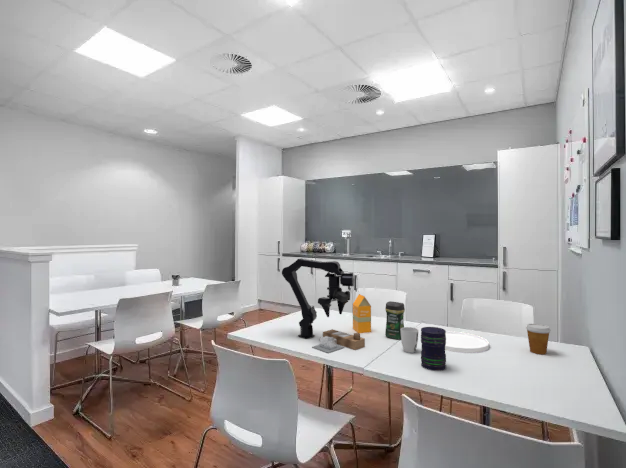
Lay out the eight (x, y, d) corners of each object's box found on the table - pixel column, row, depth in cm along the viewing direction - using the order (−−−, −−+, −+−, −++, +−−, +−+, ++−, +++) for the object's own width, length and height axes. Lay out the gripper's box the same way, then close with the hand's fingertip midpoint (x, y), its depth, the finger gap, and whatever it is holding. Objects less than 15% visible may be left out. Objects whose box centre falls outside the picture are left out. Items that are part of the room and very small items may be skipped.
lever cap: (319, 346, 170) (319, 336, 170) (326, 344, 173) (326, 334, 173) (329, 349, 164) (329, 339, 164) (336, 347, 167) (336, 337, 167)
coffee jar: (383, 337, 185) (382, 302, 185) (390, 333, 191) (389, 299, 191) (400, 340, 179) (400, 304, 179) (406, 337, 185) (406, 301, 185)
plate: (425, 334, 191) (424, 330, 191) (480, 337, 185) (480, 332, 185) (431, 351, 163) (431, 346, 163) (496, 355, 158) (496, 350, 158)
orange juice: (358, 333, 192) (357, 296, 192) (352, 329, 201) (352, 294, 201) (371, 332, 194) (371, 296, 194) (365, 328, 203) (365, 293, 203)
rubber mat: (311, 347, 169) (311, 346, 169) (328, 342, 176) (328, 341, 176) (328, 353, 161) (328, 352, 161) (344, 347, 168) (344, 347, 168)
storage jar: (415, 364, 147) (415, 328, 147) (432, 360, 152) (432, 325, 152) (434, 372, 138) (434, 334, 138) (451, 367, 143) (451, 331, 143)
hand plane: (322, 339, 181) (322, 327, 181) (332, 336, 186) (332, 324, 186) (355, 350, 165) (355, 336, 165) (364, 346, 170) (364, 333, 170)
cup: (419, 354, 159) (419, 332, 159) (400, 353, 160) (400, 331, 160) (417, 348, 167) (417, 327, 167) (400, 347, 168) (400, 326, 168)
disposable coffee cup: (547, 350, 163) (546, 324, 163) (553, 356, 154) (553, 329, 154) (523, 347, 167) (523, 322, 167) (528, 354, 158) (528, 327, 158)
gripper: (332, 289, 171) (332, 321, 171) (357, 285, 183) (358, 315, 183) (316, 287, 179) (317, 317, 179) (342, 283, 191) (342, 311, 191)
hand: (334, 315), depth 183 cm, fingers open, 9 cm apart
